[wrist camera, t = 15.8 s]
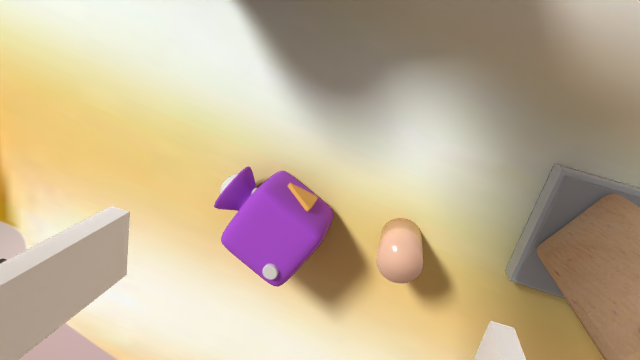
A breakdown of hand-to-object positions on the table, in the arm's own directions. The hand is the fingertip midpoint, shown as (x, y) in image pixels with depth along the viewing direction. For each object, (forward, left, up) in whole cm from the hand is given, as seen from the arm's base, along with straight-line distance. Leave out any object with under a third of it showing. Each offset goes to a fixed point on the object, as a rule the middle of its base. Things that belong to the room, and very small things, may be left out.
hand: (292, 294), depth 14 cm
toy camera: (+13, -9, -36) cm, 40 cm away
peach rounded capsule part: (+12, +7, -36) cm, 39 cm away
